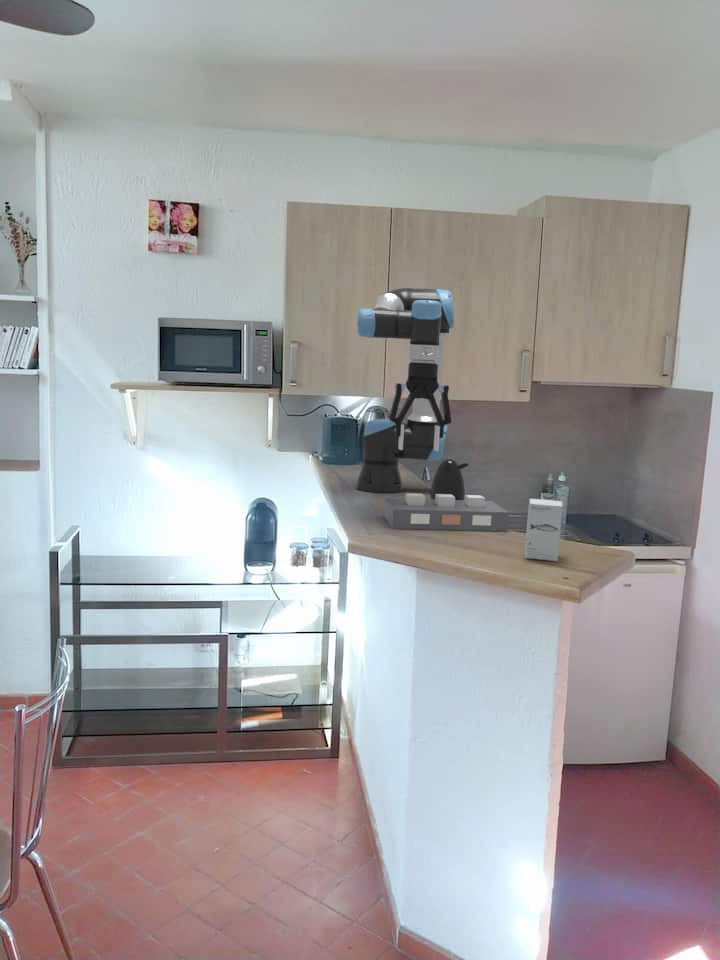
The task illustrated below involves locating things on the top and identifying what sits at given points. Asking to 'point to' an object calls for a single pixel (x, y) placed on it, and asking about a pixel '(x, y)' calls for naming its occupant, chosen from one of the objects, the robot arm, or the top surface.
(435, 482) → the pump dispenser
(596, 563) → the top surface
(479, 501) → the button
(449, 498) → the button
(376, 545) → the top surface
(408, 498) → the button
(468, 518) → the console
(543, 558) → the supplement box
